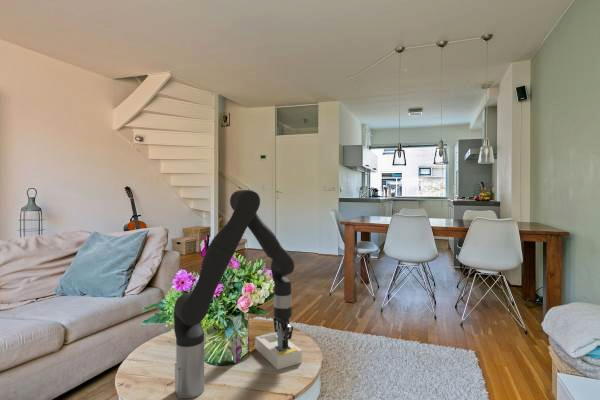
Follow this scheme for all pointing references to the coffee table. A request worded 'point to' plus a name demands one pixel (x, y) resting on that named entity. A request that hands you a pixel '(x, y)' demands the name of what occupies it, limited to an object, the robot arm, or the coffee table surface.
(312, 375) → the coffee table surface
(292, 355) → the socket board
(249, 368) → the coffee table surface
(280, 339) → the blue-grey upright block
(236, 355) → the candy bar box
